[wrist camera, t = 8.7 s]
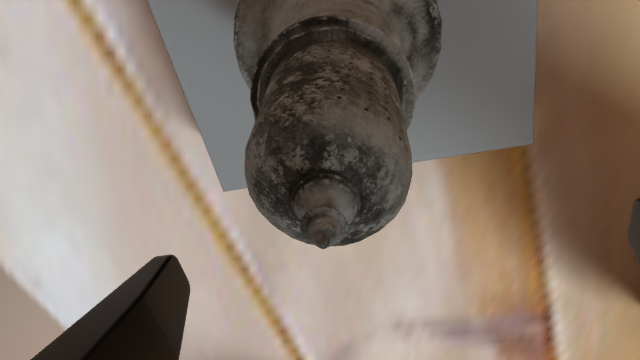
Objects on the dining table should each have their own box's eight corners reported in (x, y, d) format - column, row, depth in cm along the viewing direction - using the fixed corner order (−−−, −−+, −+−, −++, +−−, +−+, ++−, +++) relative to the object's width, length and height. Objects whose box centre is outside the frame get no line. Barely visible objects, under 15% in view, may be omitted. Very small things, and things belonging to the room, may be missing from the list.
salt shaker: (411, -108, 14) (561, -49, 4) (434, 73, 17) (553, 356, 7) (229, -56, 15) (2, 92, 5) (282, 107, 18) (202, 395, 8)
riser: (512, -274, 14) (547, -305, 12) (511, 111, 21) (532, 143, 19) (122, -161, 16) (81, -166, 14) (236, 156, 23) (223, 191, 21)
